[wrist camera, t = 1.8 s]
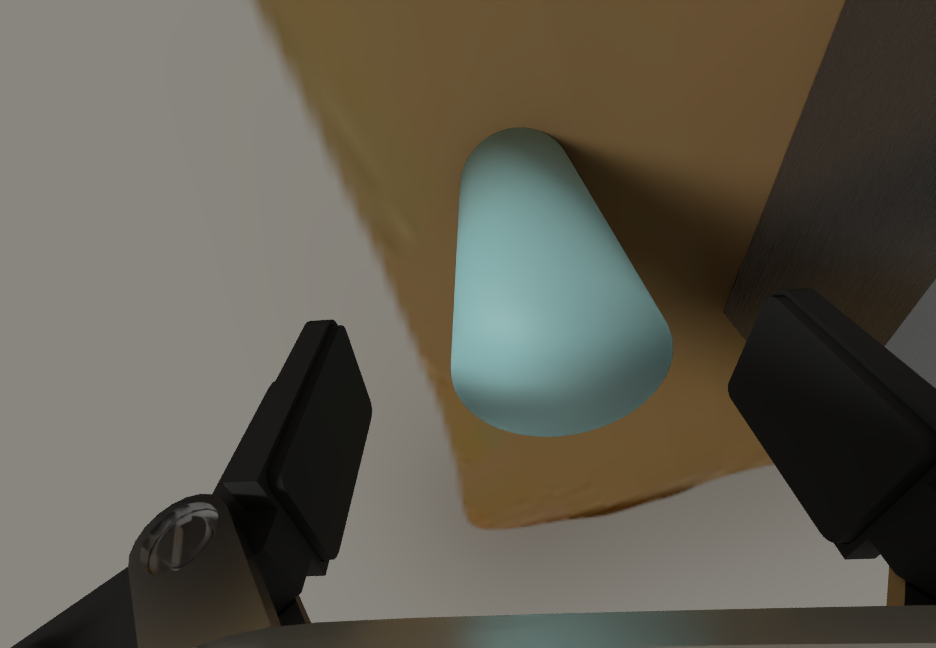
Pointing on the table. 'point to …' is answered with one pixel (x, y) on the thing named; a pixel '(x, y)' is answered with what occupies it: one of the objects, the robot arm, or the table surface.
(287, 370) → the robot arm
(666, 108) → the table surface
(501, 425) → the plug
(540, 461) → the table surface
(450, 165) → the table surface
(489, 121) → the table surface
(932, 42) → the socket
